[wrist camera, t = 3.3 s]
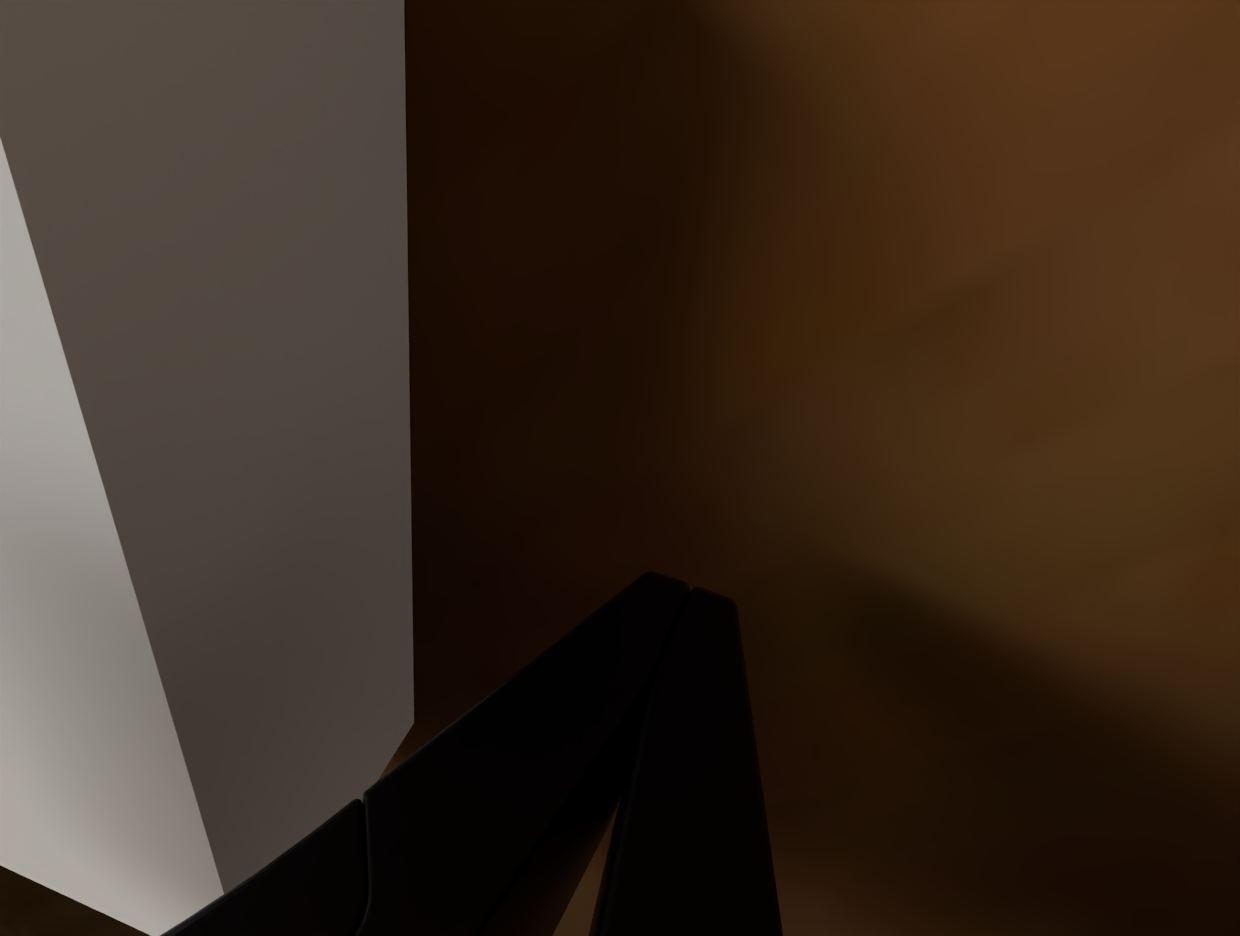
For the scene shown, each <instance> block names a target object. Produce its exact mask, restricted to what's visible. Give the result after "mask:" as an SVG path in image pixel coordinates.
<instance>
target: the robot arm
mask: <svg viewBox="0 0 1240 936" xmlns="http://www.w3.org/2000/svg"><path fill="white" fill-rule="evenodd" d="M689 592H690V593H689ZM621 795H622V796H621ZM620 798H621V800H620ZM619 800H620V803H619ZM618 803H619V807H618V811H617V815H616V819H615V823H614V827H613V831H612V835H611V839H610V844H609V848H608V852H607V857H606V861H605V866H604V870H603V874H602V879H601V883H600V888H599V892H598V896H597V901H596V905H595V910H594V914H593V918H592V923H591V927H590V932H589V936H783V932H782V925H781V918H780V911H779V904H778V897H777V889H776V882H775V875H774V868H773V861H772V854H771V847H770V839H769V832H768V825H767V818H766V811H765V804H764V797H763V789H762V782H761V775H760V768H759V761H758V754H757V747H756V739H755V732H754V725H753V718H752V711H751V704H750V697H749V689H748V682H747V675H746V668H745V661H744V654H743V647H742V639H741V632H740V625H739V618H738V611H737V606H736V604H735V602H734V601H733V599H731V598H729V597H726V596H723V595H720V594H717V593H715V592H712V591H709V590H706V589H703V588H700V587H696V588H693V589H692V590H691V591H690V590H689V586H688V585H687V584H686V583H685V582H683V581H680V580H677V579H674V578H672V577H669V576H666V575H663V574H660V573H657V572H654V571H650V572H646V573H644V574H643V575H641V576H640V577H639V578H637V579H636V580H635V581H633V582H632V583H631V584H630V585H628V586H627V587H626V588H624V589H623V590H622V591H621V592H619V593H618V594H617V595H616V596H614V597H613V598H612V599H610V600H609V601H608V602H607V603H605V604H604V605H603V606H601V607H600V608H599V609H598V610H596V611H595V612H594V613H592V614H591V615H590V616H589V617H587V618H586V619H585V620H583V621H582V622H581V623H580V624H578V625H577V626H576V627H575V628H573V629H572V630H571V631H569V632H568V633H567V634H566V635H564V636H563V637H562V638H560V639H559V640H558V641H557V642H555V643H554V644H553V645H551V646H550V647H549V648H548V649H546V650H545V651H544V652H542V653H541V654H540V655H539V656H537V657H536V658H535V659H534V660H532V661H531V662H530V663H528V664H527V665H526V666H525V667H523V668H522V669H521V670H519V671H518V672H517V673H516V674H514V675H513V676H512V677H510V678H509V679H508V680H507V681H505V682H504V683H503V684H501V685H500V686H499V687H498V688H496V689H495V690H494V691H493V692H491V693H490V694H489V695H487V696H486V697H485V698H484V699H482V700H481V701H480V702H478V703H477V704H476V705H475V706H473V707H472V708H471V709H469V710H468V711H467V712H466V713H464V714H463V715H462V716H460V717H459V718H458V719H457V720H455V721H454V722H453V723H452V724H450V725H449V726H448V727H446V728H445V729H444V730H443V731H441V732H440V733H439V734H437V735H436V736H435V737H434V738H432V739H431V740H430V741H428V742H427V743H426V744H425V745H423V746H422V747H421V748H420V749H418V750H417V751H416V752H414V753H413V754H412V755H411V756H409V757H408V758H407V759H405V760H404V761H403V762H402V763H400V764H399V765H398V766H396V767H395V768H394V769H393V770H391V771H390V772H389V773H387V774H386V775H385V776H384V777H382V778H381V779H380V780H379V781H377V782H376V783H375V784H373V785H372V786H371V787H370V788H368V789H367V790H366V791H365V792H364V793H363V803H362V801H361V800H360V799H354V800H352V801H351V802H350V803H348V804H347V805H346V806H345V807H343V808H342V809H341V810H339V811H338V812H337V813H336V814H334V815H333V816H332V817H330V818H329V819H328V820H327V821H325V822H324V823H323V824H322V825H320V826H319V827H318V828H316V829H315V830H314V831H312V832H311V833H310V834H308V835H307V836H306V837H304V838H303V839H302V840H300V841H299V842H297V843H296V844H295V845H293V846H292V847H291V848H289V849H288V850H287V851H285V852H284V853H282V854H281V855H280V856H278V857H277V858H276V859H274V860H273V861H272V862H270V863H269V864H268V865H266V866H265V867H263V868H262V869H261V870H259V871H258V872H257V873H255V874H254V875H252V876H251V877H249V878H248V879H246V880H245V881H243V882H242V883H240V884H239V885H237V886H236V887H234V888H232V889H231V890H229V891H228V892H226V893H225V894H223V895H222V896H220V897H219V898H217V899H216V900H214V901H213V902H211V903H210V904H208V905H207V906H205V907H204V908H202V909H201V910H199V911H198V912H196V913H195V914H193V915H191V916H190V917H188V918H187V919H185V920H184V921H182V922H181V923H179V924H177V925H176V926H174V927H173V928H171V929H169V930H168V931H166V932H165V933H163V934H161V935H160V936H552V935H553V933H554V931H555V929H556V928H557V926H558V924H559V922H560V920H561V918H562V916H563V914H564V912H565V910H566V908H567V906H568V904H569V902H570V900H571V898H572V896H573V894H574V892H575V890H576V888H577V886H578V884H579V882H580V880H581V878H582V877H583V875H584V873H585V871H586V869H587V867H588V865H589V863H590V861H591V859H592V857H593V855H594V853H595V851H596V849H597V847H598V845H599V843H600V841H601V839H602V837H603V835H604V833H605V831H606V829H607V827H608V825H609V823H610V821H611V819H612V816H613V814H614V812H615V810H616V808H617V805H618Z"/></svg>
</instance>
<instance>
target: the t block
mask: <svg viewBox="0 0 1240 936" xmlns="http://www.w3.org/2000/svg"><path fill="white" fill-rule="evenodd" d="M413 724H414V675H413V602H412V529H411V456H410V383H409V310H408V237H407V165H406V92H405V19H404V0H0V865H1V866H3V867H5V868H7V869H9V870H12V871H14V872H16V873H18V874H20V875H22V876H25V877H27V878H29V879H31V880H33V881H35V882H37V883H40V884H42V885H44V886H46V887H48V888H50V889H52V890H55V891H57V892H59V893H61V894H63V895H65V896H67V897H70V898H72V899H74V900H76V901H78V902H80V903H82V904H85V905H87V906H89V907H91V908H93V909H95V910H98V911H100V912H102V913H104V914H106V915H108V916H110V917H113V918H115V919H117V920H119V921H121V922H123V923H125V924H128V925H130V926H132V927H134V928H136V929H138V930H140V931H143V932H145V933H147V934H149V935H151V936H160V935H161V934H163V933H165V932H166V931H168V930H169V929H171V928H173V927H174V926H176V925H177V924H179V923H181V922H182V921H184V920H185V919H187V918H188V917H190V916H191V915H193V914H195V913H196V912H198V911H199V910H201V909H202V908H204V907H205V906H207V905H208V904H210V903H211V902H213V901H214V900H216V899H217V898H219V897H220V896H222V895H223V894H225V893H226V892H228V891H229V890H231V889H232V888H234V887H236V886H237V885H239V884H240V883H242V882H243V881H245V880H246V879H248V878H249V877H251V876H252V875H254V874H255V873H257V872H258V871H259V870H261V869H262V868H263V867H265V866H266V865H268V864H269V863H270V862H272V861H273V860H274V859H276V858H277V857H278V856H280V855H281V854H282V853H284V852H285V851H287V850H288V849H289V848H291V847H292V846H293V845H295V844H296V843H297V842H299V841H300V840H302V839H303V838H304V837H306V836H307V835H308V834H310V833H311V832H312V831H314V830H315V829H316V828H318V827H319V826H320V825H322V824H323V823H324V822H325V821H327V820H328V819H329V818H330V817H332V816H333V815H334V814H336V813H337V812H338V811H339V810H341V809H342V808H343V807H345V806H346V805H347V804H348V803H350V802H351V801H352V800H354V799H360V800H361V801H362V803H363V793H364V792H365V791H366V790H367V789H368V788H370V787H371V786H372V785H373V784H375V783H376V782H377V780H378V779H379V777H380V776H381V774H382V773H383V771H384V769H385V768H386V766H387V765H388V763H389V762H390V760H391V758H392V757H393V755H394V754H395V752H396V751H397V749H398V747H399V746H400V744H401V743H402V741H403V740H404V738H405V736H406V735H407V733H408V732H409V730H410V728H411V727H412V725H413Z"/></svg>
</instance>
